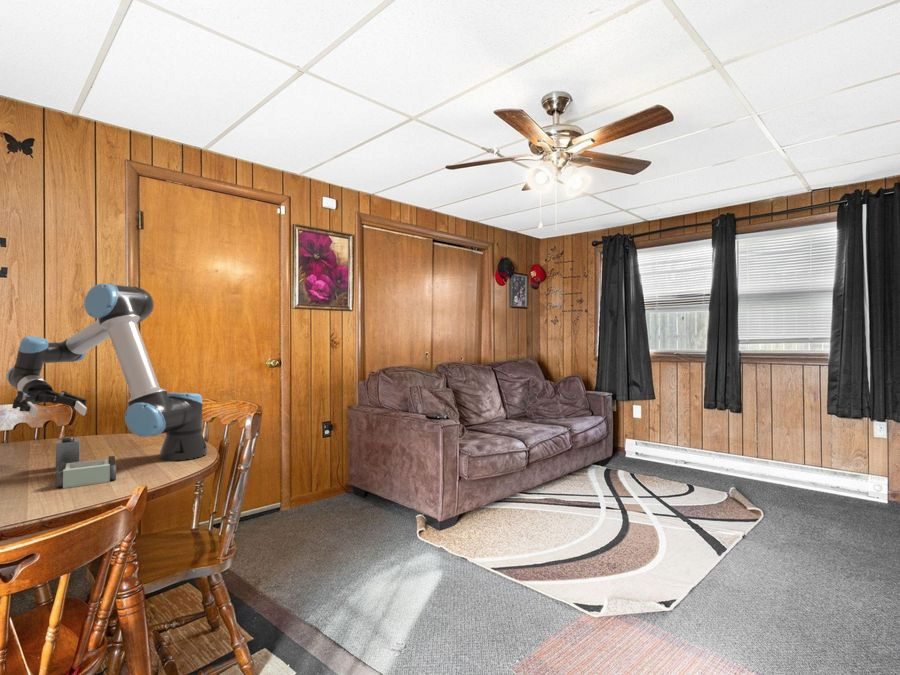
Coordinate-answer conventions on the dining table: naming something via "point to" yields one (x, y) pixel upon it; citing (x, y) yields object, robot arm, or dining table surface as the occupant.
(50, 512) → the dining table surface
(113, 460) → the toy car chassis
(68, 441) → the grey upright block
